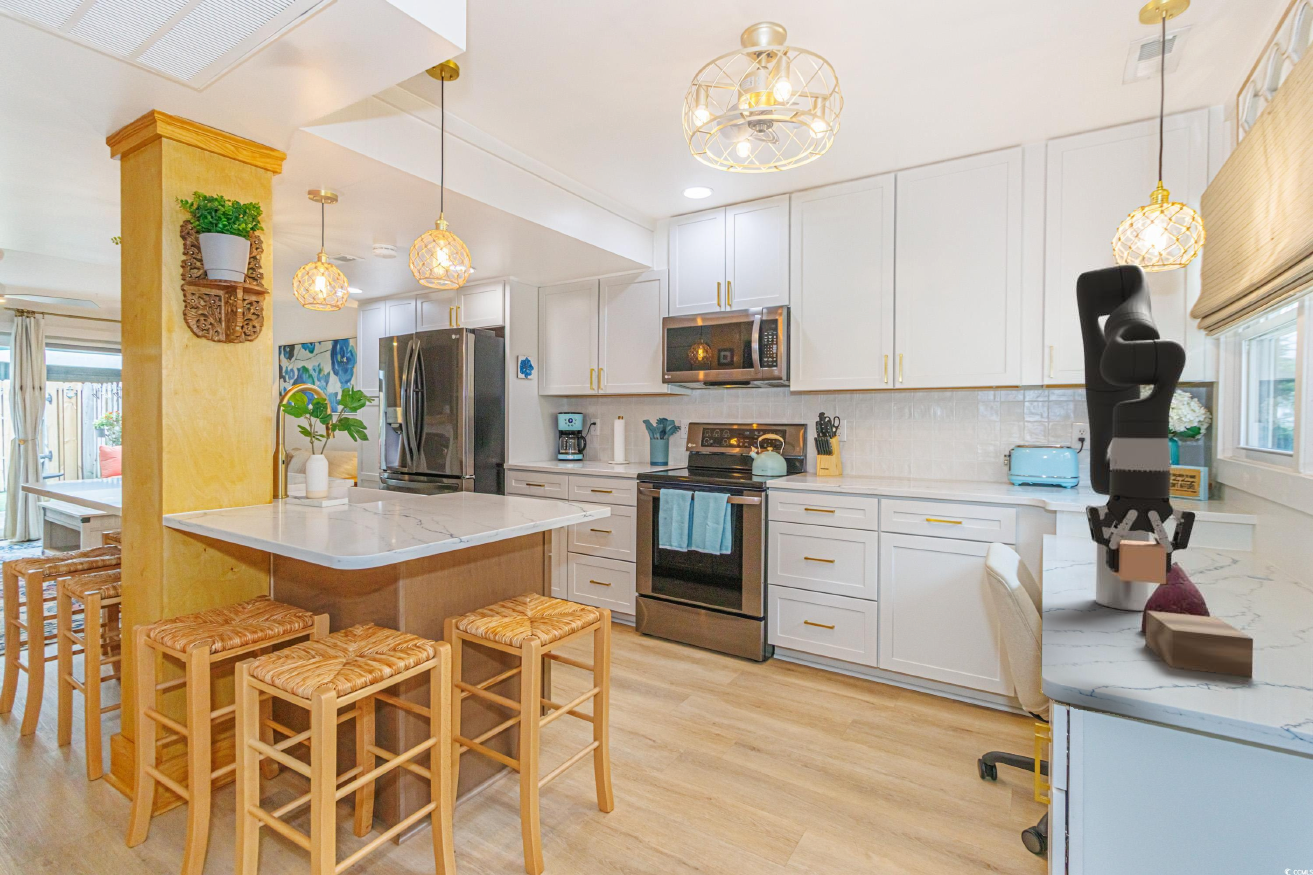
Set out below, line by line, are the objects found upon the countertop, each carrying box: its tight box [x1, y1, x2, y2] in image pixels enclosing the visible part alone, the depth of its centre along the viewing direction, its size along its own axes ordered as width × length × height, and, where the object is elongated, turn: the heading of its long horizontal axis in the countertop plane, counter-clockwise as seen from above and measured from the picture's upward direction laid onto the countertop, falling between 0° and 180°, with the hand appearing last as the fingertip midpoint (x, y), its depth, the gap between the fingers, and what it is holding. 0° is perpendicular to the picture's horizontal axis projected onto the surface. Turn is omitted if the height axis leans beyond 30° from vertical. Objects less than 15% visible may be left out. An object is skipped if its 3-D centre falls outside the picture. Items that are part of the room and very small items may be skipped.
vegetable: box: [1141, 561, 1211, 634], centre depth 117 cm, size 10×10×15 cm
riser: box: [1145, 611, 1254, 678], centre depth 103 cm, size 12×10×6 cm
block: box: [1111, 540, 1166, 584], centre depth 98 cm, size 6×6×6 cm
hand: (1137, 572), depth 98 cm, fingers closed on block, 5 cm apart
